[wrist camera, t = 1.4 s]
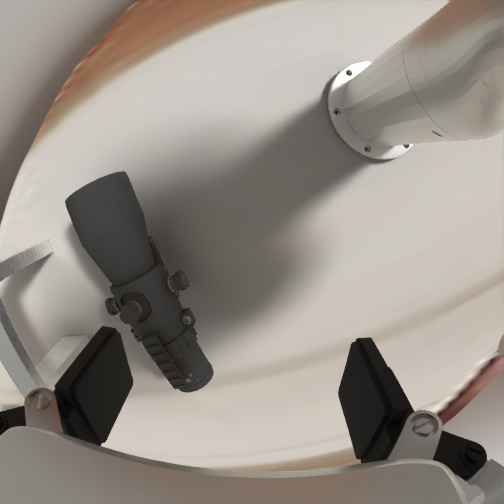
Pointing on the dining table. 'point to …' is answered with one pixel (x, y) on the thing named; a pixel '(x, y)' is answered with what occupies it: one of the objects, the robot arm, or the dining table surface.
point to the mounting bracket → (11, 349)
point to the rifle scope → (139, 278)
